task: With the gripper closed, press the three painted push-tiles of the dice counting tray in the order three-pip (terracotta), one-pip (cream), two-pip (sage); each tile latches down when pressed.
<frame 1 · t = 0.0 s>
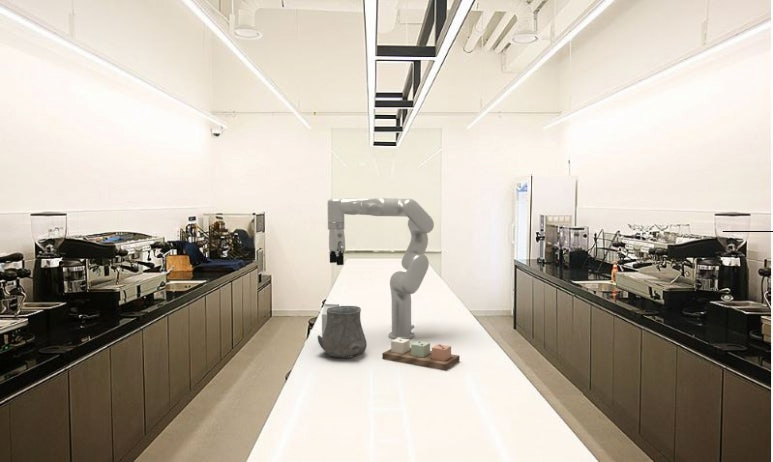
hand: (336, 263, 230), 37 cm above the table, tool pointing down, fingers open, 9 cm apart
milk carton: (332, 345, 231), on the table
tile two pip: (420, 348, 208), point 5 cm above the table, slide at 0.0 cm
tile one pip: (400, 345, 213), point 5 cm above the table, slide at 0.0 cm
vessel: (345, 355, 216), on the table
tile three pip: (441, 352, 203), point 5 cm above the table, slide at 0.0 cm
dice counting tray: (420, 360, 208), on the table
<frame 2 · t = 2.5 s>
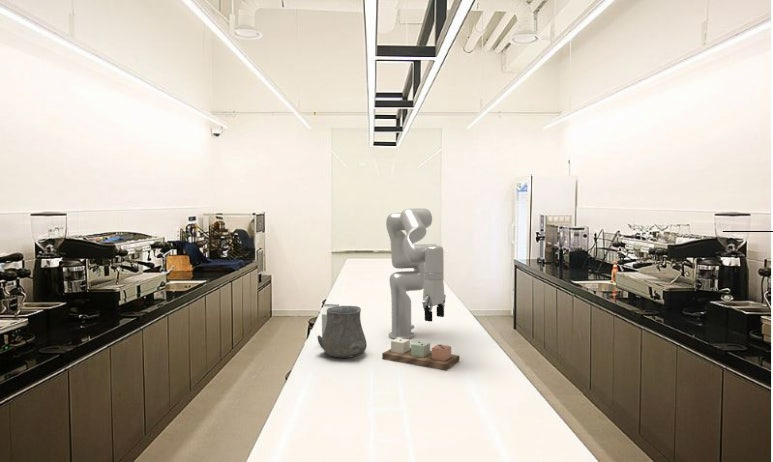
hand: (434, 318, 204), 18 cm above the table, tool pointing down, fingers open, 9 cm apart
nothing on the table moved.
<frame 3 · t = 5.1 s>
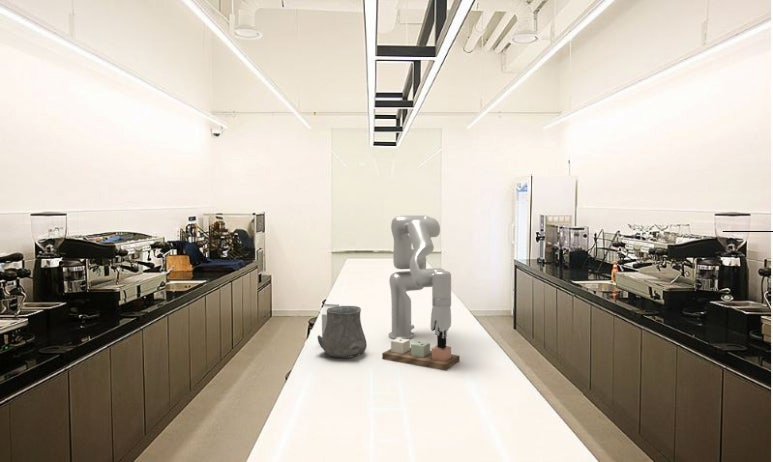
hand: (441, 347, 203), 7 cm above the table, tool pointing down, fingers closed
tile three pip: (441, 352, 203), point 5 cm above the table, slide at 0.3 cm, touching gripper
everything else where it was.
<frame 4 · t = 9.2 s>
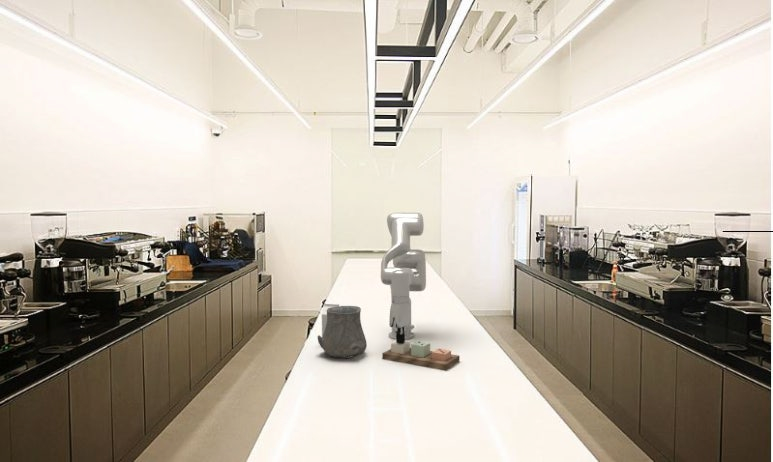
hand: (400, 342, 212), 6 cm above the table, tool pointing down, fingers closed
tile one pip: (400, 348, 213), point 4 cm above the table, slide at 1.2 cm, touching gripper
tile three pip: (441, 356, 203), point 3 cm above the table, slide at 1.8 cm
everything else where it was.
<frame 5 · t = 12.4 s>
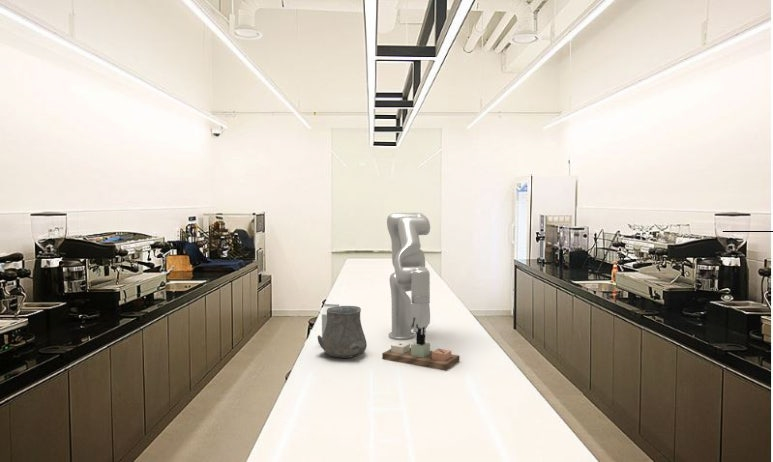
hand: (420, 343, 208), 7 cm above the table, tool pointing down, fingers closed
tile two pip: (420, 349, 208), point 5 cm above the table, slide at 0.1 cm, touching gripper
tile one pip: (400, 349, 213), point 3 cm above the table, slide at 1.8 cm
everything else where it was.
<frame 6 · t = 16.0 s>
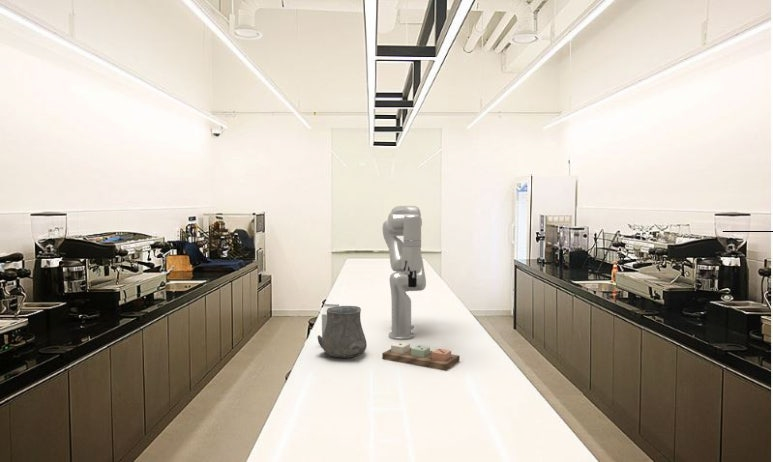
hand: (412, 286, 215), 29 cm above the table, tool pointing down, fingers closed
tile two pip: (420, 353, 208), point 3 cm above the table, slide at 1.8 cm
everything else where it was.
at the end: tile three pip slide at 1.8 cm; tile one pip slide at 1.8 cm; tile two pip slide at 1.8 cm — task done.
